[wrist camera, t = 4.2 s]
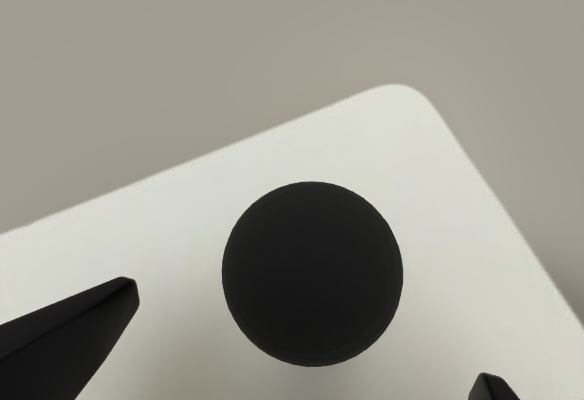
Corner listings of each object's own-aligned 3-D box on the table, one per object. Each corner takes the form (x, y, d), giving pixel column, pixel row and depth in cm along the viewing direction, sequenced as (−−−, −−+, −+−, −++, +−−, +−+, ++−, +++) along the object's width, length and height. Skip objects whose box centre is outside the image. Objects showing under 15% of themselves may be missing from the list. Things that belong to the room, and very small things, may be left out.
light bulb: (399, 278, 17) (471, 229, 8) (332, 374, 16) (325, 448, 7) (311, 215, 19) (285, 115, 10) (246, 297, 18) (146, 272, 9)
